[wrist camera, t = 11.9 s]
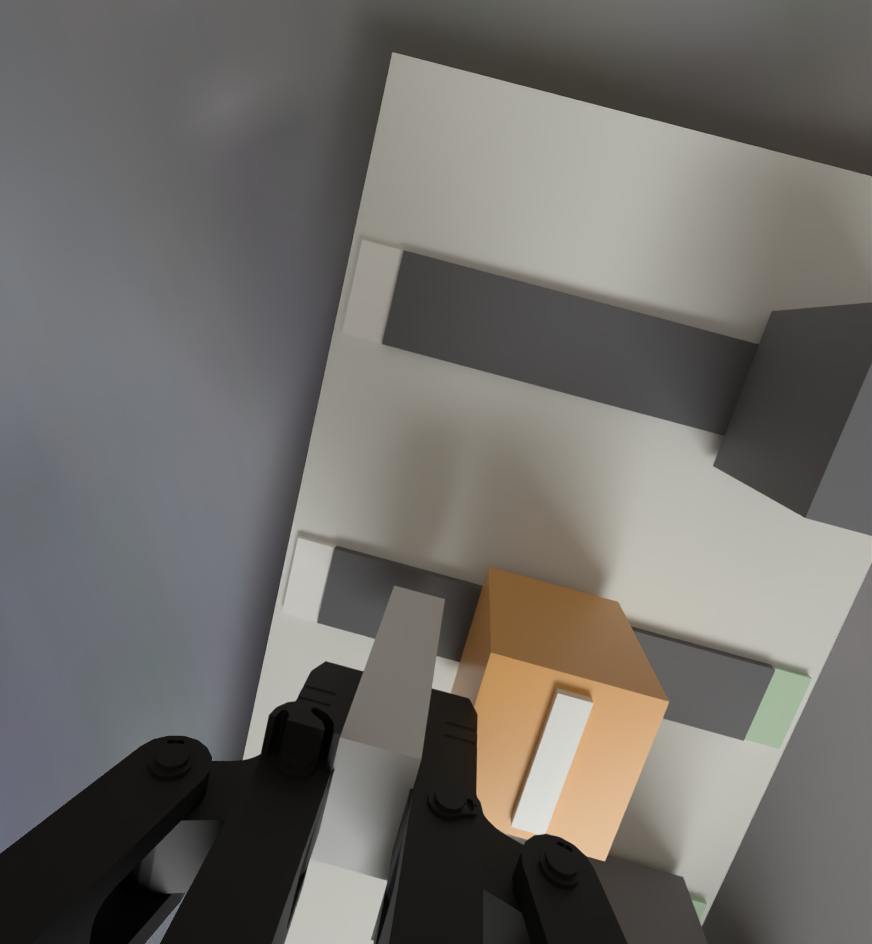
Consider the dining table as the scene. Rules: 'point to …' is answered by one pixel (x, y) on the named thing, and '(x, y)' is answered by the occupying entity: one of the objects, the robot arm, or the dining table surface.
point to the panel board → (593, 439)
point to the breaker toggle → (557, 710)
